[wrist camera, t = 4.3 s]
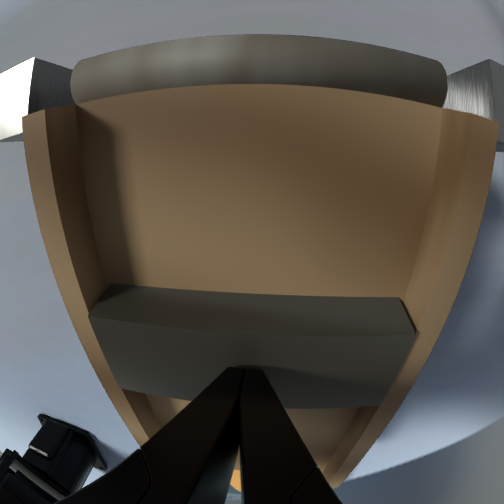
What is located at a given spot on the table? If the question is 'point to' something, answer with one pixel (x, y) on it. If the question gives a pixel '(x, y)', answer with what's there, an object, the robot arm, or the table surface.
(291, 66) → the tray
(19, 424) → the table surface
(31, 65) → the hinge stand
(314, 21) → the table surface
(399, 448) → the table surface
